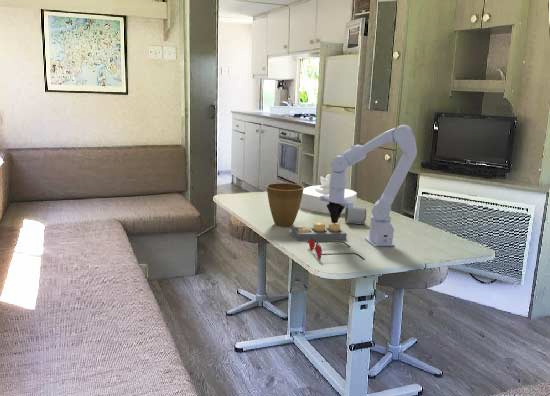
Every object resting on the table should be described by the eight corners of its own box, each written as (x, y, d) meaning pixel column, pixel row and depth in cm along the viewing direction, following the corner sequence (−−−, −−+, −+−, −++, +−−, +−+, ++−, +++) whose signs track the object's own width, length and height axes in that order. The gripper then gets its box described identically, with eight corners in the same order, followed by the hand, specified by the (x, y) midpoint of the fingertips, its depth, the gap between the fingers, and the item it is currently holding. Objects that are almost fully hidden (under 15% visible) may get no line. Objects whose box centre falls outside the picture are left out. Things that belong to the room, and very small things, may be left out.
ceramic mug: (366, 226, 211) (367, 208, 209) (346, 225, 211) (348, 207, 209) (361, 219, 221) (362, 202, 220) (342, 219, 221) (343, 201, 220)
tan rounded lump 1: (326, 232, 191) (326, 225, 190) (315, 232, 190) (315, 225, 189) (322, 229, 195) (323, 222, 194) (311, 229, 194) (312, 222, 193)
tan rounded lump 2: (341, 232, 192) (341, 225, 191) (330, 232, 191) (330, 225, 190) (337, 229, 196) (338, 222, 196) (326, 229, 195) (327, 222, 195)
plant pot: (294, 219, 216) (296, 182, 213) (306, 228, 202) (309, 189, 199) (260, 220, 211) (262, 182, 208) (271, 230, 198) (273, 190, 194)
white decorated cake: (340, 216, 226) (343, 180, 223) (291, 207, 238) (293, 173, 235) (360, 206, 247) (363, 173, 244) (314, 198, 259) (316, 167, 256)
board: (346, 239, 191) (346, 233, 190) (297, 240, 186) (297, 234, 186) (335, 229, 203) (335, 224, 202) (289, 230, 199) (289, 224, 198)
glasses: (306, 248, 179) (307, 235, 178) (350, 247, 182) (351, 234, 181) (318, 262, 166) (319, 247, 164) (365, 260, 169) (366, 246, 168)
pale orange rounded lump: (310, 237, 190) (311, 230, 189) (299, 237, 189) (299, 230, 188) (307, 234, 194) (307, 227, 193) (296, 234, 193) (296, 227, 192)
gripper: (359, 190, 188) (356, 225, 191) (329, 183, 198) (326, 216, 201) (347, 192, 183) (344, 228, 186) (317, 185, 193) (314, 219, 196)
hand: (334, 222), depth 193 cm, fingers closed
